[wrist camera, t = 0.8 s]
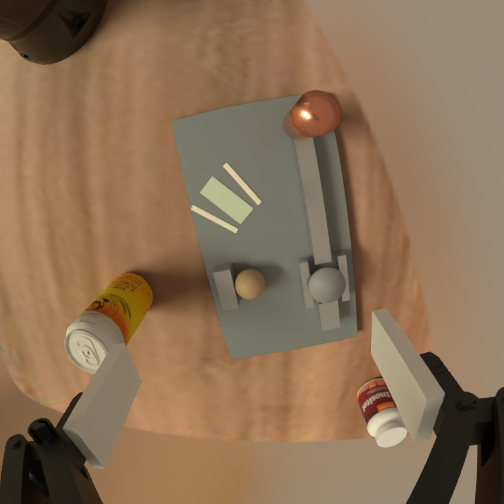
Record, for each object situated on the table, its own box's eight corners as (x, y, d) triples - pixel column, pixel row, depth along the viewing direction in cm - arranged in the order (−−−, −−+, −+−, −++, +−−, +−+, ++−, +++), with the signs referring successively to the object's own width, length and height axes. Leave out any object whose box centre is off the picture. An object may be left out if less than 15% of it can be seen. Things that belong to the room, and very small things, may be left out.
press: (174, 122, 35) (162, 118, 30) (324, 93, 33) (333, 85, 29) (231, 354, 44) (228, 375, 39) (355, 331, 43) (364, 350, 38)
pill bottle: (381, 370, 45) (404, 417, 35) (395, 389, 46) (417, 434, 36) (349, 391, 46) (365, 440, 36) (365, 408, 48) (382, 455, 37)
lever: (348, 318, 40) (374, 371, 29) (307, 326, 41) (322, 382, 30) (319, 106, 32) (347, 87, 21) (271, 113, 33) (278, 95, 22)
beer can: (145, 266, 40) (96, 323, 26) (161, 306, 42) (123, 375, 28) (108, 275, 41) (51, 330, 26) (124, 314, 42) (78, 378, 28)
